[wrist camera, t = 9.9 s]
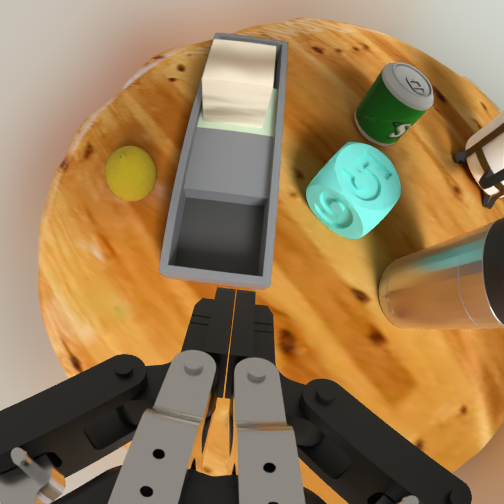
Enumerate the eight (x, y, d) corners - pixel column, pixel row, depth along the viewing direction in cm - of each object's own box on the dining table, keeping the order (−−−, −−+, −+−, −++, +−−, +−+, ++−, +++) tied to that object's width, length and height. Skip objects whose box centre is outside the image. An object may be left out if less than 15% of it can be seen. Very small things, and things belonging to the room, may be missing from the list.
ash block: (262, 128, 34) (273, 87, 26) (203, 121, 33) (201, 78, 26) (266, 87, 35) (276, 46, 28) (212, 80, 34) (213, 39, 27)
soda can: (364, 152, 38) (407, 102, 27) (343, 109, 39) (376, 55, 28) (402, 147, 39) (447, 104, 28) (381, 107, 41) (418, 60, 29)
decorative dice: (379, 204, 37) (412, 180, 29) (345, 247, 35) (377, 229, 27) (334, 162, 37) (359, 129, 29) (297, 200, 36) (317, 171, 28)
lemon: (120, 170, 34) (99, 136, 26) (162, 166, 34) (151, 130, 27) (116, 212, 33) (91, 185, 25) (161, 209, 33) (146, 180, 26)
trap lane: (263, 289, 33) (270, 285, 28) (166, 277, 32) (158, 272, 28) (282, 62, 40) (287, 42, 36) (214, 53, 39) (215, 32, 35)
